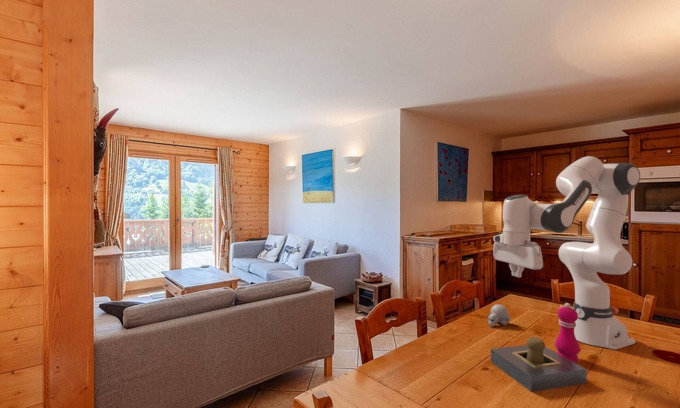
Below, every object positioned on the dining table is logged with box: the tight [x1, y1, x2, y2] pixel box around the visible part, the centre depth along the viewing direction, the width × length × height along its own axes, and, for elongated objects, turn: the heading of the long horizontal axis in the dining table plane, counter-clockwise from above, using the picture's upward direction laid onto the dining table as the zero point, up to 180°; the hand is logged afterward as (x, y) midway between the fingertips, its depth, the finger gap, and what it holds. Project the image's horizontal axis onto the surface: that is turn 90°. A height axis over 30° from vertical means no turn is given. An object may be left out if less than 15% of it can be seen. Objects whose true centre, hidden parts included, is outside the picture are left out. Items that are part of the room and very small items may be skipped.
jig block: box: [490, 344, 588, 393], centre depth 106 cm, size 20×18×5 cm
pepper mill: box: [554, 302, 581, 364], centre depth 114 cm, size 7×7×20 cm
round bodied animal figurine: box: [487, 303, 511, 328], centre depth 146 cm, size 7×12×8 cm, turn 118°
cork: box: [526, 336, 546, 365], centre depth 106 cm, size 6×6×11 cm
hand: (516, 276), depth 118 cm, fingers closed
